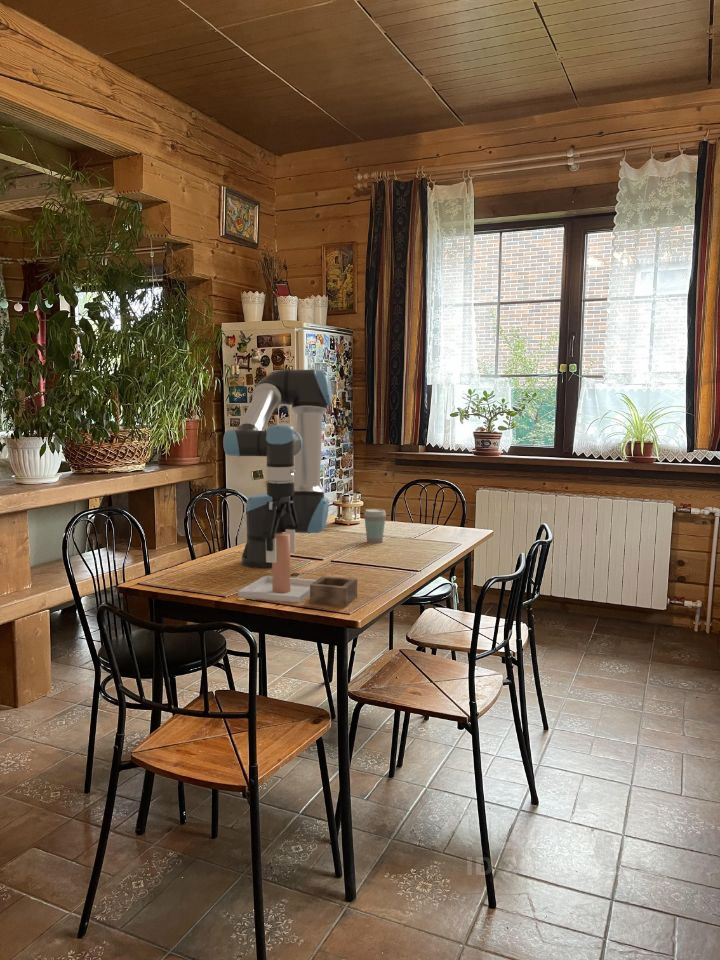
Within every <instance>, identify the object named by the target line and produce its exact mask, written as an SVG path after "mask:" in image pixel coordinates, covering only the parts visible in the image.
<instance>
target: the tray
mask: <svg viewBox="0 0 720 960" xmlns="http://www.w3.org/2000/svg"><path fill="white" fill-rule="evenodd" d="M316 580H317V579H311V578H299V577H290V592H287V593H274V592H273V591H272V575H264V576H262V577H260V578H258V579H257V580H255V581H253V582H251V583H250V584H248V585H246V586H244V587H243V588H241V589H238V591H237V599H238V598H244V599H252V600H255V601H257V600H269V601H280V602H287V603H288V602H291V603H301V602H302V601H304V600H305V599H307V598H308V597H310V585H311V584H312V583H314V582H315V581H316Z"/></svg>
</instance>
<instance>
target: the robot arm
mask: <svg viewBox="0 0 720 960" xmlns="http://www.w3.org/2000/svg"><path fill="white" fill-rule="evenodd" d="M332 390H333V389H332V384H331V378H330V375H329V373H328V371H326V370H323V369H315V368H314V369H280V370H276V371H273V372H271V373H269V374H268V375H266V376H265V377H263V378H261V380H259V381H258V383H257V384H256V385H255V387H254V389H253V391H252V396H251V397H252V399H251V402H250V403H249V405H248V407H247V409H246V411H245V413H244V415H243V417H242V419H241V421H240V423H239V425H238V426H237V428H236V429H234V428H233V429H229V430H226V431H225V432H224V435H223V439H222V441H223V442H222V443H223V445H222V446H223V450H224V453H225V454H226V455H228V456H229V457H230V456H233V457H266V481H267V483H266V492H263V493H258V494H252V495H251V496H249V497H248V498H247V499H246V509H245V512H246V514H245V515H246V543H245V545H244V549H243V553H242V555H241V564H242V566H245V567H249V568H257V569H269V568H271V569H272V563H276V539H274V538H275V534H276V533H287V534H290V553H296V533H297V534H302V533H303V534H319V533H322V531H324V529H325V527H326V524H327V521H328V516H329V508H330V507H329V505H330V504H329V503H330V501H329V498H328V497H326V496H325V491H323V490H322V488H321V465H322V462H321V460H322V437H323V436H322V433H323V432H322V431H323V415H324V414H325V413H327V412H328V407H329V406H332V405H333V391H332ZM281 405H288V406H292V407H291V410H292V411H293V412H294V413H295V415H296V416H295V417H296V419H295V422H296V423H295V430H294V426H292V425H288V424H286V425H285V424H279V425H278V424H273V425H272V424H271V425H268V423H269V421H270V419H271V417H272V415H273V413H274V411H275V410H276V409H277V408H278V407H279V406H281Z"/></svg>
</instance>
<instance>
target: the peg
mask: <svg viewBox="0 0 720 960" xmlns="http://www.w3.org/2000/svg"><path fill="white" fill-rule="evenodd" d="M274 539H276V563H272V567H271V569H272V570H271V572H272V573H271V576H272V591H273V592H274V593H287V592H290V578H291V552H290V534H287V533H285V532H282V533H276V534H275V538H274Z"/></svg>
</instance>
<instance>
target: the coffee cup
mask: <svg viewBox="0 0 720 960" xmlns="http://www.w3.org/2000/svg"><path fill="white" fill-rule="evenodd" d="M386 516H387V513H386V510H385V509H382V508H368V509H367V508H366V509H365V510H364V513H363V517H364V524H365V532H366V533H365V535H366V542H367V543H369V544H370V543H371V544H379V543H380V544H382V543H383V540H384V539H383V538H384V530H385V522H386Z"/></svg>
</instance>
